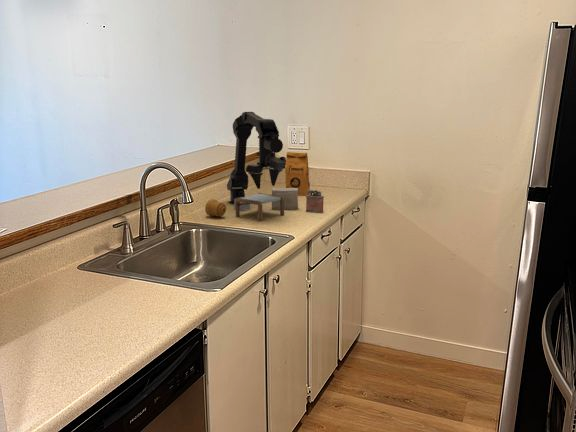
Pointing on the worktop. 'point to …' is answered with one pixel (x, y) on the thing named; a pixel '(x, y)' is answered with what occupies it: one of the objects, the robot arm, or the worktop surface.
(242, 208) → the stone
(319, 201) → the lighter
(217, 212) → the ornamental finial
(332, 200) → the worktop surface
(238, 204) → the stand
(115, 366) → the worktop surface
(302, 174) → the coffee package
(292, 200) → the grey block
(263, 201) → the trapdoor
